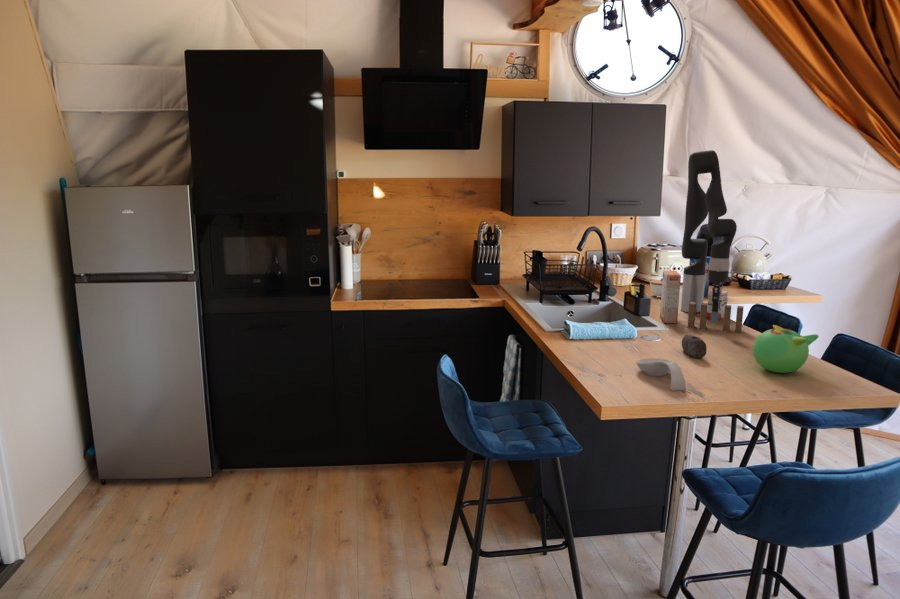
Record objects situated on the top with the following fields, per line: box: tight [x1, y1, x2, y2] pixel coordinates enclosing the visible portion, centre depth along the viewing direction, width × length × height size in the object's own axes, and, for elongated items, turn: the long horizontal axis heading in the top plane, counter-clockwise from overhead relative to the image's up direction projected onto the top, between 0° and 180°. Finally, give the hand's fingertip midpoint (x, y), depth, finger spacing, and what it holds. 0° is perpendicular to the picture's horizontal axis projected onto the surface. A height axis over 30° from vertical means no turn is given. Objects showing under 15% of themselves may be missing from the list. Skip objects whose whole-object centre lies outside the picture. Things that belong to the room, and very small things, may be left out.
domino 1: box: [687, 302, 696, 329], centre depth 270 cm, size 5×2×10 cm, turn 155°
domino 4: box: [722, 304, 732, 333], centre depth 264 cm, size 5×2×10 cm, turn 155°
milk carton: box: [688, 256, 710, 297], centre depth 337 cm, size 10×6×20 cm, turn 73°
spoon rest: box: [635, 358, 687, 392], centre depth 203 cm, size 24×12×7 cm, turn 6°
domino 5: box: [734, 305, 745, 334], centre depth 262 cm, size 5×2×10 cm, turn 154°
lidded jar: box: [650, 277, 663, 297], centre depth 335 cm, size 11×11×9 cm
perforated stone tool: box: [681, 334, 708, 359], centre depth 230 cm, size 15×5×7 cm, turn 0°
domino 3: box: [710, 297, 720, 325], centre depth 265 cm, size 5×2×10 cm, turn 154°
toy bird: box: [752, 324, 819, 374], centre depth 210 cm, size 18×17×15 cm
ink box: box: [707, 290, 729, 321], centre depth 286 cm, size 9×5×12 cm, turn 131°
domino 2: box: [698, 302, 708, 330], centre depth 268 cm, size 5×2×10 cm, turn 154°
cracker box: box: [659, 270, 682, 325], centre depth 280 cm, size 14×6×21 cm, turn 168°
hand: (715, 310), depth 265 cm, fingers closed on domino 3, 5 cm apart
